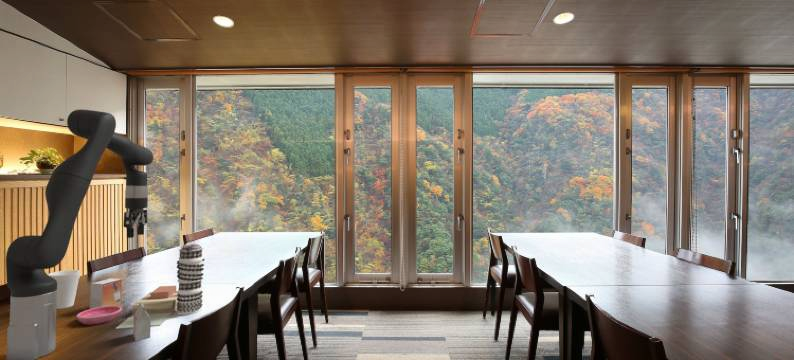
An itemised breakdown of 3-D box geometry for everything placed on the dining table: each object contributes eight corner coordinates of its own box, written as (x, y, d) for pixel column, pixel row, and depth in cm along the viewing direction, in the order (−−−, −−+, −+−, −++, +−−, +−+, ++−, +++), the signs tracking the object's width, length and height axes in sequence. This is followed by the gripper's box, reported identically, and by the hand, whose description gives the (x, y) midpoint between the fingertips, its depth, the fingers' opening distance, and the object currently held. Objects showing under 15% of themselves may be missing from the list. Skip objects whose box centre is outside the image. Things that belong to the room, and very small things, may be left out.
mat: (160, 325, 121) (160, 324, 121) (115, 329, 118) (115, 328, 118) (172, 313, 133) (172, 312, 133) (132, 316, 130) (132, 315, 130)
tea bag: (146, 331, 117) (147, 300, 117) (150, 337, 112) (151, 305, 112) (133, 334, 114) (133, 303, 114) (135, 341, 109) (136, 308, 109)
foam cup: (41, 307, 137) (42, 273, 137) (72, 301, 145) (73, 269, 145) (52, 311, 133) (53, 277, 133) (83, 304, 141) (84, 271, 141)
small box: (101, 312, 133) (102, 284, 133) (89, 311, 134) (90, 283, 134) (121, 305, 141) (122, 278, 141) (110, 304, 142) (111, 277, 142)
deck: (172, 313, 133) (172, 302, 133) (132, 316, 130) (132, 305, 130) (185, 300, 148) (185, 290, 148) (150, 302, 145) (150, 292, 145)
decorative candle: (179, 307, 139) (180, 243, 139) (205, 305, 142) (207, 243, 142) (172, 316, 130) (173, 247, 131) (200, 313, 133) (202, 246, 133)
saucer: (66, 325, 121) (66, 316, 121) (101, 312, 133) (101, 304, 133) (97, 328, 119) (98, 318, 119) (130, 315, 131) (130, 306, 131)
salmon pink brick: (168, 297, 138) (168, 291, 138) (150, 299, 137) (150, 292, 137) (176, 291, 147) (176, 285, 147) (159, 292, 145) (159, 286, 146)
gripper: (138, 197, 140) (137, 238, 140) (154, 196, 154) (153, 233, 154) (116, 197, 138) (115, 239, 138) (134, 196, 152) (134, 233, 152)
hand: (135, 236), depth 146 cm, fingers open, 8 cm apart
